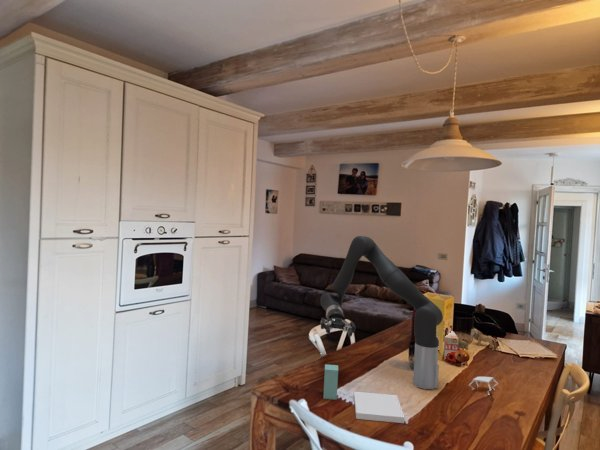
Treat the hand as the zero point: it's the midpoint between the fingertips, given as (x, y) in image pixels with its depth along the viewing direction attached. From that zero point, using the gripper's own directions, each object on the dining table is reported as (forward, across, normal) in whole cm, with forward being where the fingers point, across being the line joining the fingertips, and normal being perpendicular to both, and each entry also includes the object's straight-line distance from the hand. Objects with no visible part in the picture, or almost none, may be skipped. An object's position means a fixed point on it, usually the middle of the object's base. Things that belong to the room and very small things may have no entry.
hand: (339, 333), depth 153 cm
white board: (+20, +14, +17) cm, 30 cm away
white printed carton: (-38, +64, +23) cm, 78 cm away
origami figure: (+2, +63, +16) cm, 65 cm away
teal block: (+11, -2, +20) cm, 23 cm away
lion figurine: (-52, +91, +23) cm, 107 cm away
